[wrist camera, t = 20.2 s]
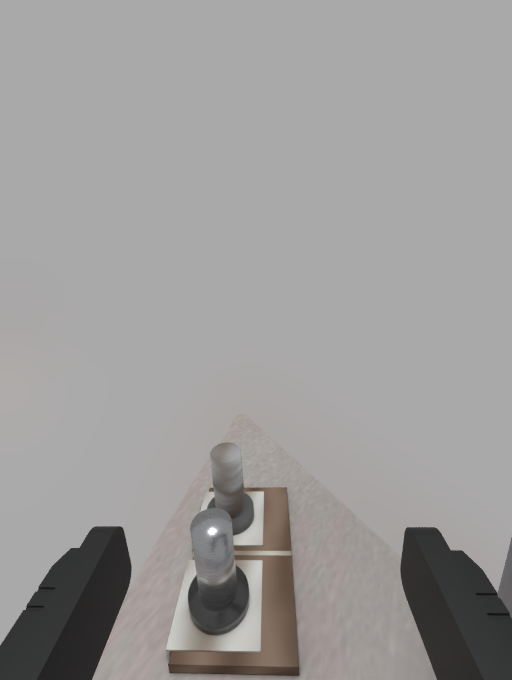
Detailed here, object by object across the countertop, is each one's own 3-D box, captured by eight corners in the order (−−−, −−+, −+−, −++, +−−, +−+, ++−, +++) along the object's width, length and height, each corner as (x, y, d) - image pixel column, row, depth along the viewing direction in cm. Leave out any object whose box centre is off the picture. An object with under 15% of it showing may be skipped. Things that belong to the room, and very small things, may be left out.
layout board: (286, 493, 51) (285, 427, 47) (298, 675, 30) (298, 581, 26) (207, 494, 52) (199, 428, 48) (164, 672, 31) (145, 579, 27)
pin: (250, 571, 38) (246, 498, 35) (247, 636, 32) (241, 555, 29) (196, 571, 38) (186, 499, 35) (182, 635, 32) (169, 555, 29)
